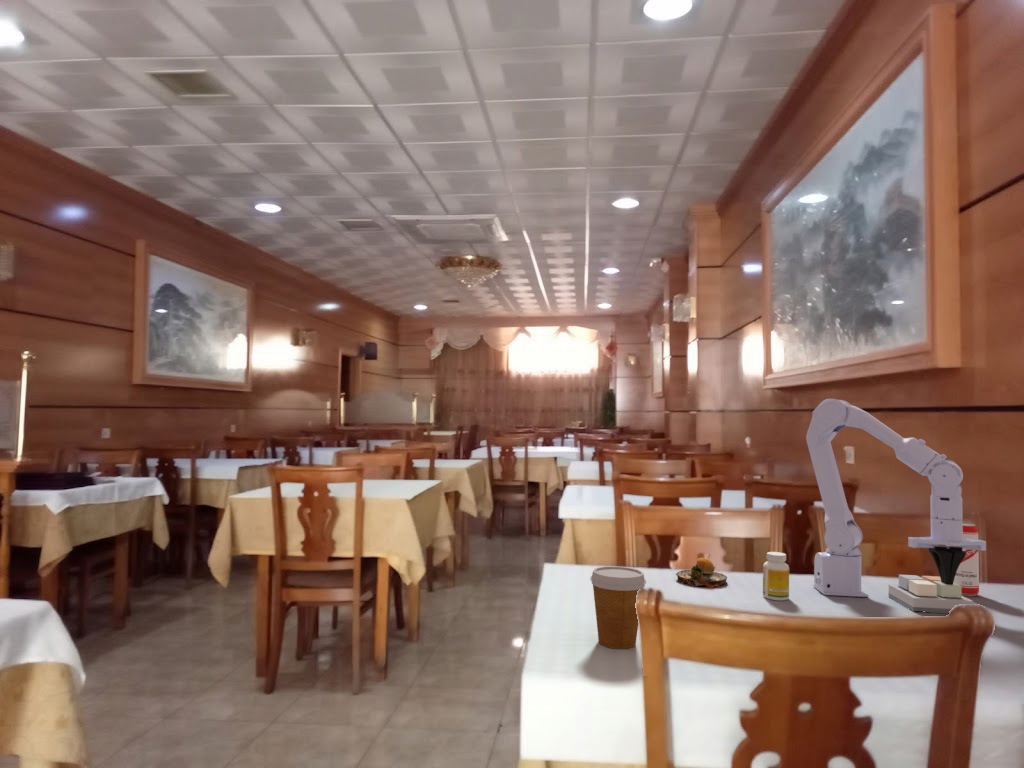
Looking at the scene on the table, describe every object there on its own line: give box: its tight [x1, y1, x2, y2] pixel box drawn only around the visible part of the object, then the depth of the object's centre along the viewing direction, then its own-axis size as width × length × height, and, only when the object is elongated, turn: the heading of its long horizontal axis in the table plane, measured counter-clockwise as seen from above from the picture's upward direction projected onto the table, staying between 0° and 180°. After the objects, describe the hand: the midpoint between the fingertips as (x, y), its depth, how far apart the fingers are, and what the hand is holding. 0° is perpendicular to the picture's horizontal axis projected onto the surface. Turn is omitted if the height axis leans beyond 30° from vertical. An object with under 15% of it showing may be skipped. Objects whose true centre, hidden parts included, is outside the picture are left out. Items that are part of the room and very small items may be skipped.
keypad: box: [888, 584, 974, 615], centre depth 145 cm, size 12×12×3 cm
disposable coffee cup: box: [589, 565, 647, 650], centre depth 116 cm, size 10×10×12 cm
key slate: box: [898, 574, 925, 590], centre depth 148 cm, size 4×4×2 cm
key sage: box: [933, 581, 962, 598], centre depth 142 cm, size 4×4×2 cm
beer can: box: [945, 522, 980, 597], centre depth 157 cm, size 6×6×16 cm
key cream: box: [909, 580, 937, 597], centre depth 143 cm, size 4×4×2 cm
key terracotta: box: [921, 575, 941, 583], centre depth 147 cm, size 4×4×2 cm
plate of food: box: [675, 554, 728, 589], centre depth 162 cm, size 12×12×8 cm
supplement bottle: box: [762, 551, 790, 602], centre depth 149 cm, size 5×5×10 cm
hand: (947, 583), depth 142 cm, fingers closed
